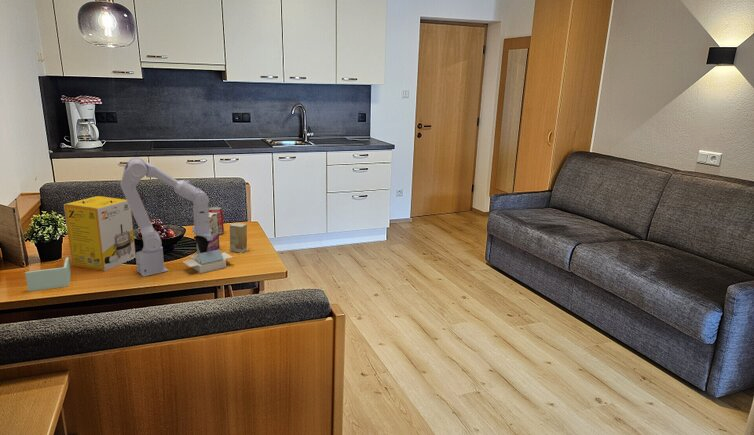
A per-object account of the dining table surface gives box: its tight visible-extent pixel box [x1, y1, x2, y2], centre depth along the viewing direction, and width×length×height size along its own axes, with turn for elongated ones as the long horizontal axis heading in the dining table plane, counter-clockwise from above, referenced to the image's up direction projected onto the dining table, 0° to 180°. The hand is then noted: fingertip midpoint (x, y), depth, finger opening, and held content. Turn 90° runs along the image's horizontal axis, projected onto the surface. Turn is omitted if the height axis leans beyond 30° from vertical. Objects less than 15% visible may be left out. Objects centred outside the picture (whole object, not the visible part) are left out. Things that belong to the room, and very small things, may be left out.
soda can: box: [208, 206, 225, 236], centre depth 238 cm, size 7×7×13 cm
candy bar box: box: [195, 212, 220, 254], centre depth 213 cm, size 11×5×16 cm, turn 168°
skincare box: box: [229, 222, 248, 254], centre depth 216 cm, size 6×4×12 cm
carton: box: [182, 252, 234, 275], centre depth 198 cm, size 18×13×6 cm
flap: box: [198, 248, 223, 264], centre depth 194 cm, size 9×4×1 cm
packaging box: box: [63, 195, 136, 272], centre depth 196 cm, size 16×16×25 cm
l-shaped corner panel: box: [24, 256, 72, 292], centre depth 177 cm, size 12×12×8 cm
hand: (203, 252), depth 199 cm, fingers closed
